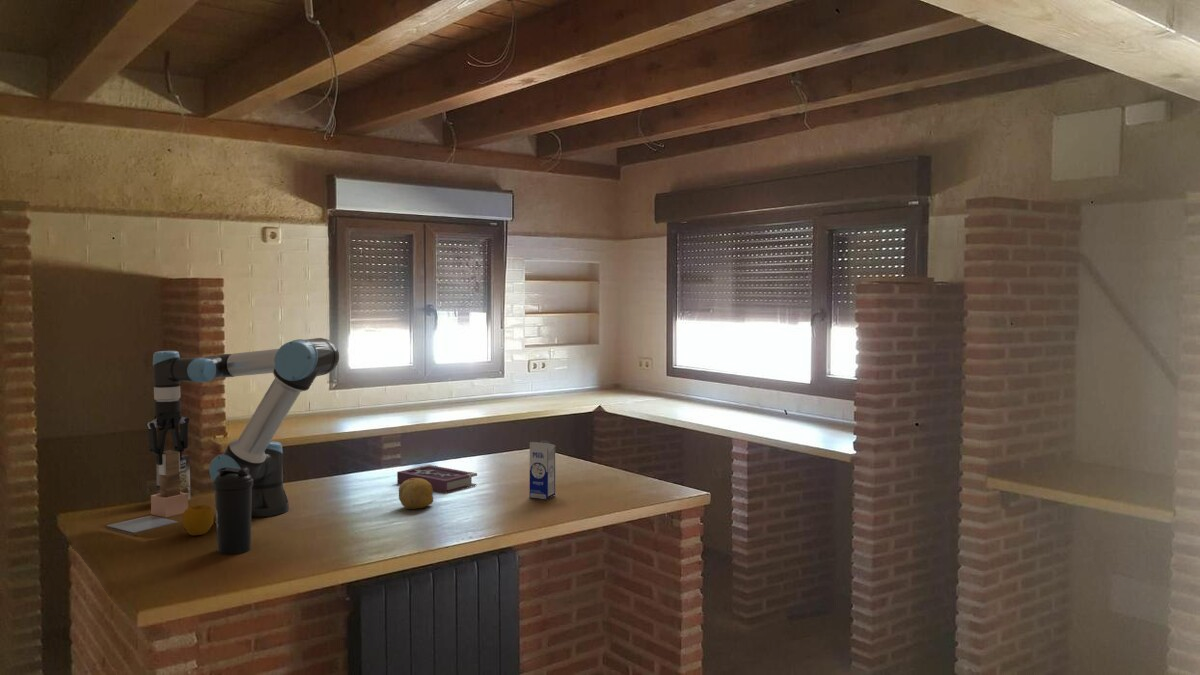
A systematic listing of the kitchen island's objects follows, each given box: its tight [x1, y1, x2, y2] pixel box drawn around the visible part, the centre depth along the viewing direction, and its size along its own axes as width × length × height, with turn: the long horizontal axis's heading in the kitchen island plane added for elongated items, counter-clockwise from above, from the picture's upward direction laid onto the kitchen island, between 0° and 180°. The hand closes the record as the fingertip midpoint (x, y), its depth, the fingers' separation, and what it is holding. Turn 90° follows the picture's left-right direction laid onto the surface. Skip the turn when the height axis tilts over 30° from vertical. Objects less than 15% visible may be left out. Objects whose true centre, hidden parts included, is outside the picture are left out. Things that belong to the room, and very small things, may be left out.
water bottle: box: [212, 467, 253, 556], centre depth 243 cm, size 10×10×23 cm
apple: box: [181, 504, 215, 537], centre depth 258 cm, size 8×8×9 cm
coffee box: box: [156, 454, 191, 500], centre depth 293 cm, size 9×6×16 cm
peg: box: [160, 449, 180, 497], centre depth 278 cm, size 4×4×14 cm
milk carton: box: [529, 439, 556, 500], centre depth 308 cm, size 7×7×20 cm
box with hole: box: [150, 492, 189, 519], centre depth 278 cm, size 8×8×7 cm
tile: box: [106, 514, 179, 537], centre depth 266 cm, size 14×14×1 cm
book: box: [396, 464, 478, 494], centre depth 326 cm, size 25×16×5 cm, turn 55°
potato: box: [398, 478, 434, 510], centre depth 292 cm, size 10×12×10 cm
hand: (169, 473), depth 278 cm, fingers closed on peg, 4 cm apart
